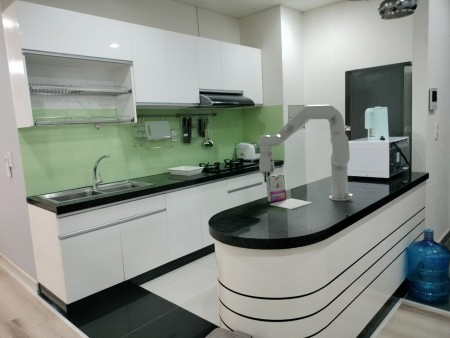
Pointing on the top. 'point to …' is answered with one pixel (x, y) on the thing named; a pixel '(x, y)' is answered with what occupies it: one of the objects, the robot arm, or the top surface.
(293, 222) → the top surface
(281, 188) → the candy bar box
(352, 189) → the top surface
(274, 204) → the mat
